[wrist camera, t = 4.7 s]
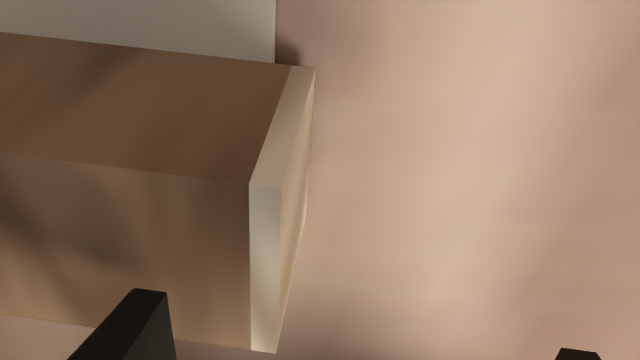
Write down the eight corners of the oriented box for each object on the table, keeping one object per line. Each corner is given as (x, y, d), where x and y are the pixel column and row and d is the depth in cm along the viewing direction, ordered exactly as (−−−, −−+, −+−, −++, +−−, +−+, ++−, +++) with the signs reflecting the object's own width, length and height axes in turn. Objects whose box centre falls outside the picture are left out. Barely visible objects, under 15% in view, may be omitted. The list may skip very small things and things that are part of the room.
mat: (270, 280, 20) (268, 289, 20) (-4, 243, 21) (-10, 250, 20) (277, -89, 13) (274, -85, 12) (-147, -131, 13) (-160, -129, 13)
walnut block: (276, 353, 14) (-85, 301, 14) (305, 216, 17) (23, 180, 18) (281, 188, 10) (-180, 129, 11) (315, 67, 14) (-25, 29, 15)
